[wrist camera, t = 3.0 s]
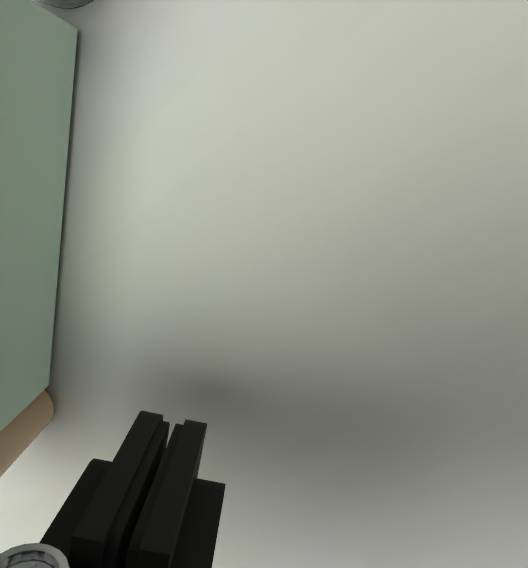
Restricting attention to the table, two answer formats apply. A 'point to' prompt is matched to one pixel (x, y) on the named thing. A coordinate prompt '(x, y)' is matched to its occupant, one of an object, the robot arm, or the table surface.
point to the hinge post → (67, 3)
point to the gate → (30, 210)
